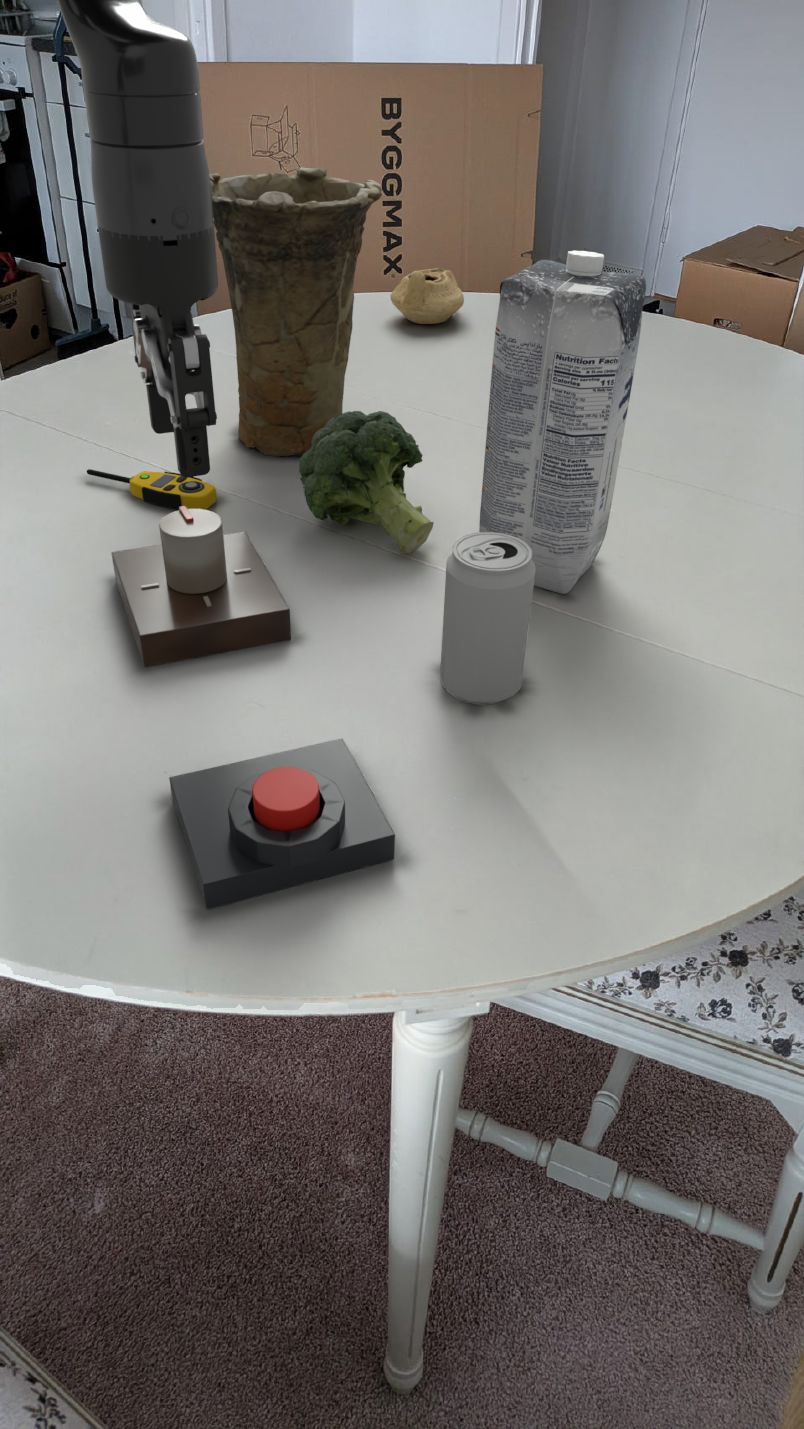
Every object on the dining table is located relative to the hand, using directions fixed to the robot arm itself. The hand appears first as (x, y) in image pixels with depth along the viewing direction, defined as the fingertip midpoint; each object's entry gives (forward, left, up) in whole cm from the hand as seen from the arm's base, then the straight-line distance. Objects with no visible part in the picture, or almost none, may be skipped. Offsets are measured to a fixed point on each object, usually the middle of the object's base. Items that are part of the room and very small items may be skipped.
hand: (180, 452), depth 76 cm
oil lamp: (+51, +72, -15) cm, 90 cm away
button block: (-1, -27, -15) cm, 31 cm away
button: (-1, -29, -11) cm, 31 cm away
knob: (0, +1, -12) cm, 12 cm away
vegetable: (+19, +10, -15) cm, 26 cm away
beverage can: (+18, -17, -15) cm, 29 cm away
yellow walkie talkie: (0, +25, -15) cm, 29 cm away
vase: (+19, +35, -15) cm, 43 cm away
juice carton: (+31, -2, -15) cm, 35 cm away
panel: (0, +1, -15) cm, 15 cm away
